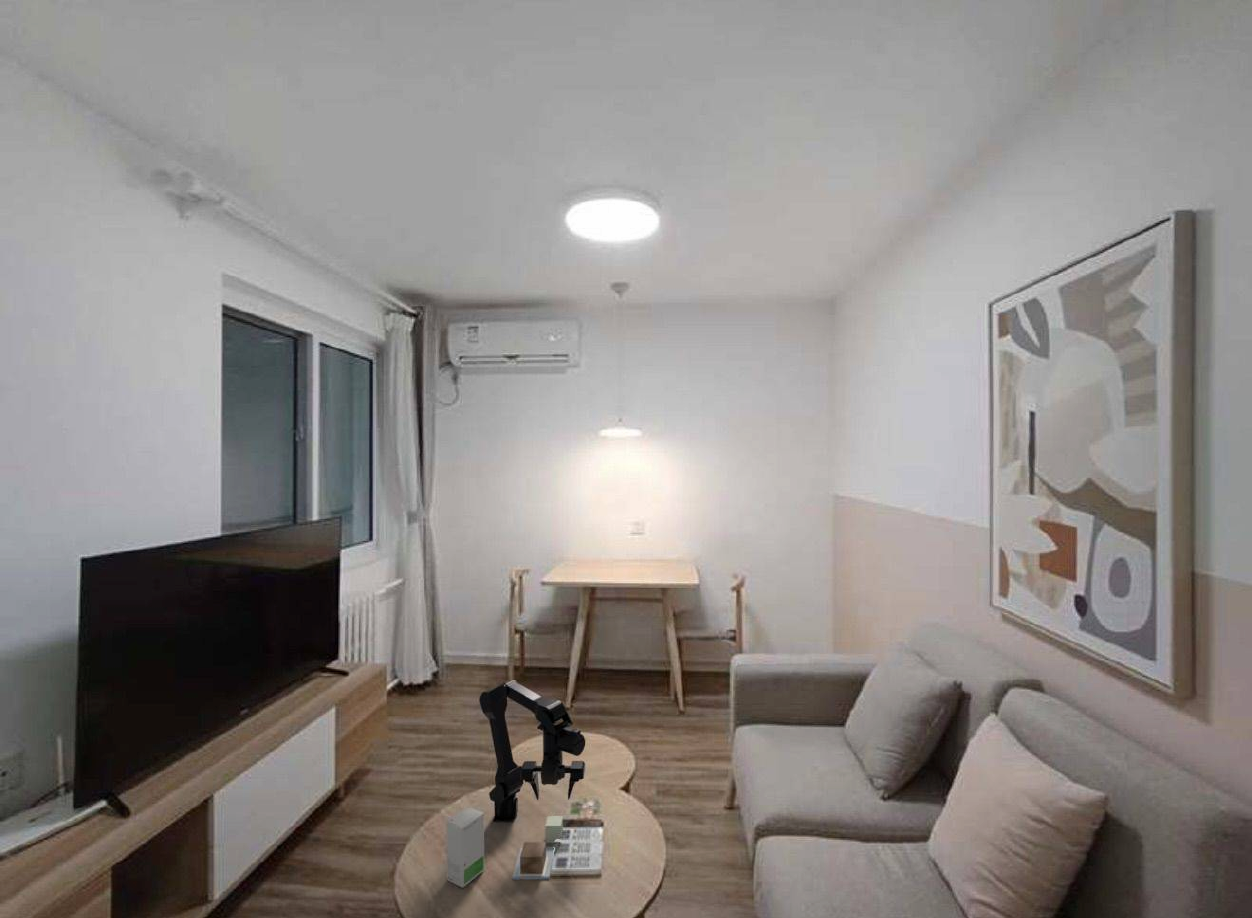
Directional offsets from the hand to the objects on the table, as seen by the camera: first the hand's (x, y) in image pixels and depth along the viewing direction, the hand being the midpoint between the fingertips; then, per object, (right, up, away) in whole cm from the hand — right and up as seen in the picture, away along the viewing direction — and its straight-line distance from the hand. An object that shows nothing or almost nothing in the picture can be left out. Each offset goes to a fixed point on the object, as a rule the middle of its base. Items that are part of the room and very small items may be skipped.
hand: (553, 798), depth 168 cm
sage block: (0, -12, 0) cm, 12 cm away
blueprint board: (-4, -11, -11) cm, 16 cm away
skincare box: (-22, -12, -15) cm, 29 cm away
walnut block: (-4, -11, -13) cm, 17 cm away
